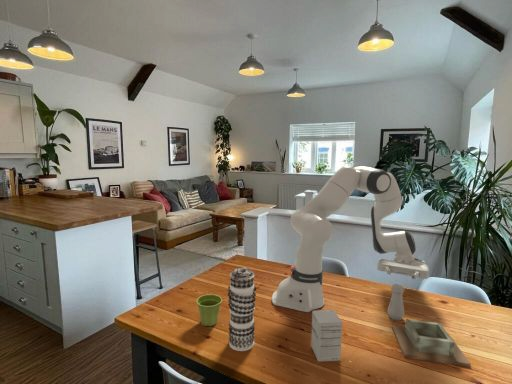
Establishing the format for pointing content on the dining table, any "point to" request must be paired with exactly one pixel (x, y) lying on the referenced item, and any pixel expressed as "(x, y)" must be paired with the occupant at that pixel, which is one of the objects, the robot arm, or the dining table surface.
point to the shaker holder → (428, 343)
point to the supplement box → (326, 335)
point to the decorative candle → (241, 309)
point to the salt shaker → (396, 303)
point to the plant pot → (209, 309)
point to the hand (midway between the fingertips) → (401, 274)
